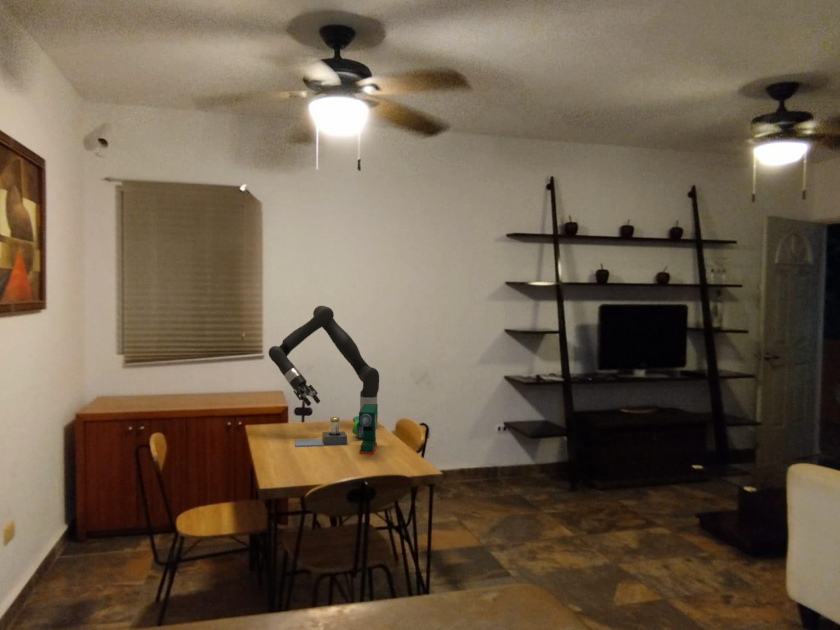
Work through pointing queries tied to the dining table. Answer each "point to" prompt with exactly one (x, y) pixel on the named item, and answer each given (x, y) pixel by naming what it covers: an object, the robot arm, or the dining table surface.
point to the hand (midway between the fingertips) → (314, 403)
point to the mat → (308, 442)
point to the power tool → (368, 428)
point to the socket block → (334, 438)
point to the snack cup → (357, 428)
